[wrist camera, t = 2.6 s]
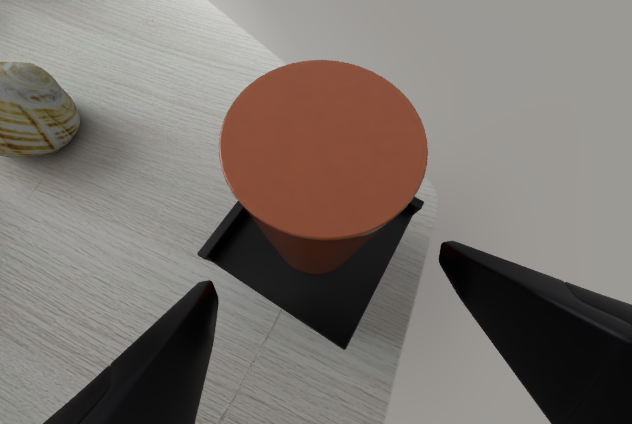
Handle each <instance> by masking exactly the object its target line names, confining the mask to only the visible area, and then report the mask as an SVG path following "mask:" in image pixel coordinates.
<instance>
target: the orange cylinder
mask: <svg viewBox="0 0 632 424" xmlns="http://www.w3.org/2000/svg"><path fill="white" fill-rule="evenodd" d="M427 156H428V149H427V139H426V134H425V130H424V127H423V124H422V122H421V119H420V117H419V115H418V113H417V112H416V110H415V108H414V107H413V106H412V104H411V103H410V101H409V100H408V99H407V98H406V97H405V95H404V94H403V93H402V92H401V91H400V90H399V89H397V88H396V87H395V86H394V85H393V84H392V83H390V82H389V81H387V80H386V79H384V78H383V77H381V76H379V75H377V74H376V73H374V72H372V71H369V70H367V69H364V68H362V67H359V66H356V65H352V64H349V63H344V62H338V61H327V60H313V61H303V62H298V63H293V64H289V65H286V66H282V67H279V68H277V69H275V70H272V71H270V72H268V73H266V74H265V75H263V76H261V77H259V78H258V79H256V80H255V81H254V82H252V83H251V84H250V85H249V86H248V87H246V88H245V89H244V90H243V91H242V92H241V93H240V95H239V96H238V97H237V98H236V100H235V101H234V102H233V104H232V105H231V107H230V109H229V110H228V112H227V114H226V117H225V119H224V122H223V125H222V129H221V133H220V141H219V157H220V163H221V167H222V171H223V174H224V177H225V179H226V182H227V184H228V185H229V187H230V189H231V191H232V192H233V194H234V195H235V197H236V198H237V199H238V201H239V202H240V203H241V205H242V206H243V207H244V209H245V210H246V211H247V213H248V214H249V215H250V216H251V218H252V219H253V220H254V222H255V223H256V224H257V226H258V227H259V228H260V230H261V231H262V232H263V234H264V235H265V236H266V237H267V239H268V240H269V241H270V243H271V244H272V245H273V247H274V248H275V249H276V251H277V252H278V253H279V255H280V256H281V257H282V258H283V260H284V261H285V262H286V263H287V264H288V265H290V266H291V267H292V268H294V269H296V270H298V271H301V272H303V273H308V274H323V273H327V272H330V271H333V270H335V269H337V268H338V267H340V266H341V265H342V264H344V263H345V262H346V261H347V260H348V259H349V258H350V257H351V256H353V255H354V254H355V253H356V252H357V251H358V250H359V249H360V248H362V247H363V246H364V245H365V244H366V243H367V242H368V241H369V240H370V239H372V238H373V237H374V236H375V235H376V234H377V233H378V232H379V231H380V230H382V229H383V228H384V227H385V226H386V225H387V224H388V223H389V222H391V221H392V220H393V219H394V218H395V217H396V216H397V215H398V214H399V213H401V212H402V211H403V210H404V209H405V208H406V206H407V205H408V204H409V203H410V202H411V201H412V199H413V198H414V196H415V194H416V193H417V191H418V190H419V188H420V185H421V183H422V180H423V178H424V175H425V170H426V166H427Z"/></svg>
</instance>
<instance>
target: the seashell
mask: <svg viewBox="0 0 632 424" xmlns="http://www.w3.org/2000/svg"><path fill="white" fill-rule="evenodd" d="M79 125H80V116H79V112H78V109H77V107H76V105H75V103H74V102H73V100H72V99H71V97H70V96H69V95H68V94H67V93H66V92H65V91H64V90H63V89H62V88H61V87H60V86H59V84H58V83H57V82H56V80H55V79H54V78H53V77H52V76H51V75H50V74H49V73H47V72H46V71H45V70H43V69H42V68H40V67H38V66H36V65H34V64H31V63H23V62H0V155H2V156H11V157H25V156H38V155H44V154H48V153H53V152H56V151H58V150H59V149H60V148H61V147H63V146H65V145H67V144H68V143H69V141H71V140H72V138H73V137H74V136H75V134H76V132H77V131H78V128H79Z"/></svg>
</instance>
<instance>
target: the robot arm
mask: <svg viewBox="0 0 632 424" xmlns="http://www.w3.org/2000/svg"><path fill="white" fill-rule="evenodd" d="M439 263H440V265H441V267H442V269H443V271H444V272H445V274H446V276H447V277H448V279H449V281H450V283H451V284H452V286H453V288H454V289H455V291H456V293H457V294H458V296H459V297H460V299H461V300H462V302H463V303H464V305H465V306H466V307H467V309H468V310H469V311H470V313H471V314H472V316H473V317H474V318H475V320H476V321H477V322H478V324H479V325H480V327H481V328H482V329H483V331H484V332H485V333H486V335H487V336H488V337H489V339H490V340H491V342H492V343H493V344H494V346H495V347H496V349H497V350H498V351H499V353H500V354H501V355H502V357H503V358H504V359H505V361H506V362H507V363H508V365H509V366H510V368H511V369H512V370H513V372H514V373H515V375H516V376H517V377H518V379H519V380H520V381H521V383H522V384H523V385H524V387H525V388H526V390H527V391H528V392H529V394H530V395H531V397H532V398H533V399H534V401H535V402H536V403H537V405H538V406H539V407H540V409H541V410H542V412H543V413H544V414H545V415H546V417H547V418H548V420H549V421H550V423H551V424H632V305H631V304H628V303H625V302H622V301H619V300H616V299H613V298H609V297H606V296H604V295H601V294H598V293H595V292H592V291H589V290H587V289H584V288H581V287H578V286H576V285H573V284H570V283H568V282H565V283H564V282H563V281H561V280H559V279H556V278H554V277H551V276H548V275H545V274H542V273H540V272H537V271H535V270H532V269H529V268H526V267H523V266H521V265H518V264H515V263H513V262H510V261H507V260H504V259H501V258H499V257H496V256H493V255H491V254H488V253H485V252H483V251H480V250H477V249H474V248H472V247H469V246H466V245H463V244H461V243H458V242H455V241H448V242H443V243H442V244H441V249H440V255H439ZM217 310H218V295H217V293H216V290H215V287H214V285H213V283H212V281H210V280H208V281H202V282H199V283H198V284H197V285H196V286H194V287H193V288H192V289H191V290H190V291H189V292H188V293H187V294H186V295H185V296H184V297H183V298H181V299H180V300H179V301H178V302H177V303H176V304H175V305H174V306H173V307H172V308H171V309H170V310H168V311H167V312H166V313H165V314H164V315H163V316H162V317H161V318H160V319H159V320H158V321H157V322H155V323H154V324H153V325H152V326H151V327H150V328H149V329H148V330H147V331H146V332H145V333H144V334H142V335H141V336H140V337H139V338H138V339H137V340H136V341H135V342H134V343H133V344H132V345H131V346H129V347H128V348H127V349H126V350H125V351H124V352H123V353H122V354H121V355H120V356H119V357H118V358H116V359H115V360H114V361H113V362H112V363H111V365H110V366H108V367H107V368H106V369H104V370H103V371H102V372H101V373H100V374H99V375H98V376H97V377H96V378H95V379H94V380H92V381H91V382H90V383H89V384H88V385H87V386H86V387H85V388H84V389H82V390H81V391H80V392H79V393H78V394H77V395H76V396H75V397H74V398H72V399H71V400H70V401H69V402H68V403H66V404H65V405H64V406H63V407H62V408H61V409H59V410H58V411H57V412H56V413H55V414H54V415H52V416H51V417H50V418H49V419H48V420H47V421H45V422H44V423H43V424H194V423H195V419H196V415H197V411H198V407H199V402H200V398H201V394H202V390H203V385H204V381H205V377H206V373H207V368H208V364H209V360H210V356H211V352H212V347H213V342H214V335H215V327H216V319H217Z"/></svg>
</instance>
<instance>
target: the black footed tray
mask: <svg viewBox="0 0 632 424" xmlns="http://www.w3.org/2000/svg"><path fill="white" fill-rule="evenodd" d="M423 204H424V202H423V201H422V200H420V199H418V198H416V197H414V198H413V199H412V201H411V202H410V203H409V204H408V205H407V206H406V208H405V209H404V210H403V211H402V212H401V213H399V214H398V215H397V216H396V217H395V218H394V219H393V220H392V221H391V222H389V223H388V224H387V225H386V226H385V227H384V228H383V229H382V230H380V231H379V232H378V233H377V234H376V235H375V236H374V237H373V238H372V239H370V240H369V241H368V242H367V243H366V244H365V245H364V246H363V247H362V248H360V249H359V250H358V251H357V252H356V253H355V254H354V255H353V256H351V257H350V258H349V259H348V260H347V261H346V262H345V263H344V264H342V265H341V266H340V267H338V268H337V269H335V270H333V271H330V272H327V273H323V274H308V273H303V272H301V271H298V270H296V269H294V268H292V267H291V266H290V265H288V264H287V263H286V262H285V261H284V260H283V258H282V257H281V256H280V255H279V253H278V252H277V251H276V249H275V248H274V247H273V245H272V244H271V243H270V241H269V240H268V239H267V237H266V236H265V235H264V234H263V232H262V231H261V230H260V228H259V227H258V226H257V224H256V223H255V222H254V220H253V219H252V218H251V216H250V215H249V214H248V213H247V211H246V210H245V209H244V207H243V206H242V205H241V203H240V202H239V201H238V202H237V203H236V204H235V205H234V207H233V208H232V209H231V211H230V212H229V213H228V214H227V216H226V217H225V218H224V220H223V221H222V222H221V224H220V225H219V226H218V227H217V229H216V230H215V231H214V233H213V234H212V235H211V236H210V238H209V239H208V240H207V242H206V243H205V244H204V246H203V247H202V248H201V249H200V251H199V252H198V253H197V254H198V255H199V256H200V257H202V258H203V259H205V260H208V261H211V262H213V263H215V264H216V265H218V266H219V267H221V268H222V269H224V270H225V271H227V272H228V273H230V274H231V275H233V276H234V277H236V278H237V279H239V280H240V281H242V282H243V283H245V284H246V285H248V286H249V287H251V288H252V289H254V290H255V291H257V292H258V293H260V294H261V295H263V296H264V297H266V298H267V299H268V300H270V301H271V302H273V303H274V304H276V305H277V306H279V307H280V308H282V309H283V310H285V311H286V312H288V313H289V314H291V315H292V316H294V317H295V318H297V319H298V320H300V321H301V322H303V323H304V324H306V325H307V326H309V327H310V328H312V329H313V330H315V331H316V332H318V333H319V334H321V335H322V336H324V337H325V338H327V339H328V340H330V341H331V342H333V343H334V344H336V345H337V346H339V347H340V348H342V349H343V350H345V349H346V348H347V346H348V344H349V342H350V340H351V338H352V336H353V334H354V332H355V330H356V328H357V326H358V324H359V322H360V320H361V318H362V316H363V314H364V312H365V310H366V308H367V306H368V304H369V302H370V300H371V298H372V296H373V294H374V292H375V290H376V288H377V286H378V284H379V282H380V280H381V278H382V276H383V274H384V272H385V270H386V268H387V266H388V264H389V262H390V260H391V258H392V256H393V254H394V252H395V250H396V248H397V246H398V244H399V242H400V240H401V238H402V236H403V234H404V232H405V230H406V228H407V226H408V224H409V222H410V220H411V218H412V216H413V215H414V214H415V213H416V212H418V211H419V210H420V209H421V208H422V206H423Z"/></svg>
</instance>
